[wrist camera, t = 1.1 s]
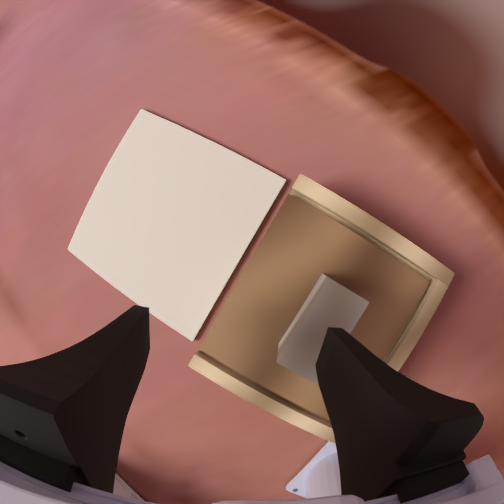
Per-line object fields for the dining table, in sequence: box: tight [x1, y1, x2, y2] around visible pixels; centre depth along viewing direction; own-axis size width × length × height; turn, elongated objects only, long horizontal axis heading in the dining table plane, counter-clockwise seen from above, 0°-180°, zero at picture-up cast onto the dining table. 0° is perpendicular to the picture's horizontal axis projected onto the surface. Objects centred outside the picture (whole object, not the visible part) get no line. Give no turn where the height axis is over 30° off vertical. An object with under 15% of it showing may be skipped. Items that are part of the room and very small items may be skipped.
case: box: [188, 174, 455, 444], centre depth 20 cm, size 12×14×4 cm
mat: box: [68, 109, 286, 341], centre depth 23 cm, size 14×14×1 cm
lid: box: [199, 194, 429, 420], centre depth 17 cm, size 11×11×4 cm
